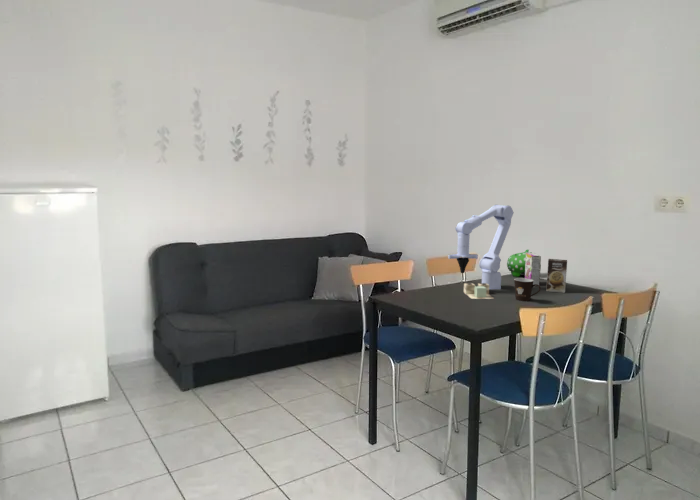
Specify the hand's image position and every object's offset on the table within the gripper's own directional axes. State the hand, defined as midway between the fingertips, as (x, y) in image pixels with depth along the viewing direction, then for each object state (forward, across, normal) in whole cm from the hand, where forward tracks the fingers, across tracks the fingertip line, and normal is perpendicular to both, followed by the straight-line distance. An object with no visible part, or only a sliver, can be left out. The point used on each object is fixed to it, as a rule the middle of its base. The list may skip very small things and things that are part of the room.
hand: (462, 272), depth 265 cm
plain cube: (+9, +6, -13) cm, 17 cm away
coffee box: (+10, +49, 0) cm, 50 cm away
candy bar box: (+10, +43, +17) cm, 47 cm away
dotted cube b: (+9, +2, -6) cm, 11 cm away
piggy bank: (+10, +47, +40) cm, 62 cm away
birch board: (+10, +6, -10) cm, 15 cm away
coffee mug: (+10, +24, -22) cm, 34 cm away
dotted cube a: (+9, +9, -6) cm, 14 cm away
